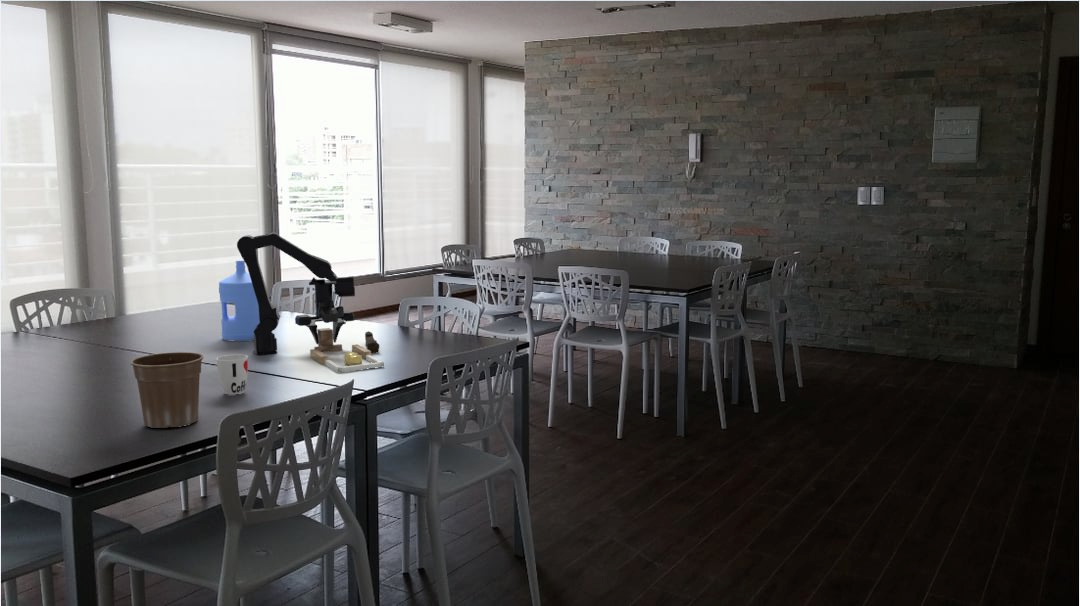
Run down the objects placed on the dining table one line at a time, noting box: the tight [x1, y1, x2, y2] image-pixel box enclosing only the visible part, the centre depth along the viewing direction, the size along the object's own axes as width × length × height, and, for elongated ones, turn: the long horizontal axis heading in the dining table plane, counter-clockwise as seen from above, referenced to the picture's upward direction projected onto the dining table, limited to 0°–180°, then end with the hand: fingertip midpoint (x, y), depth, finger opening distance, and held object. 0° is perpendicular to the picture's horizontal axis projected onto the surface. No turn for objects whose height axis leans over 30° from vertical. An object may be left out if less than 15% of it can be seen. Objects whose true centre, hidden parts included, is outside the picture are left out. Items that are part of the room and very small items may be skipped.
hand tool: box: [364, 330, 380, 354], centre depth 305 cm, size 19×4×5 cm, turn 14°
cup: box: [216, 353, 249, 396], centre depth 245 cm, size 8×8×10 cm
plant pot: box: [130, 351, 204, 429], centre depth 216 cm, size 16×16×16 cm
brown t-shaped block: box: [313, 327, 343, 353], centre depth 302 cm, size 9×6×7 cm, turn 120°
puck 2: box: [348, 355, 363, 366], centre depth 276 cm, size 4×4×4 cm
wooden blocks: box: [309, 344, 372, 366], centre depth 289 cm, size 16×13×2 cm
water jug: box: [218, 260, 260, 342], centre depth 323 cm, size 16×16×28 cm
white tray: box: [325, 354, 385, 374], centre depth 277 cm, size 14×13×2 cm
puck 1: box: [343, 352, 358, 366], centre depth 280 cm, size 4×4×4 cm
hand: (326, 343), depth 302 cm, fingers open, 6 cm apart
